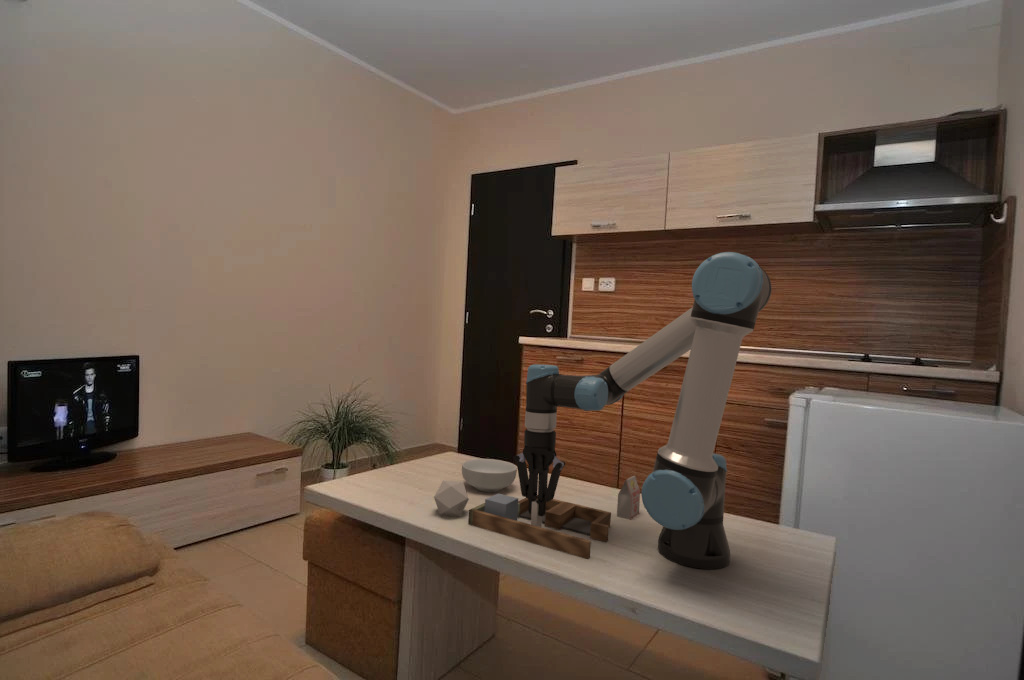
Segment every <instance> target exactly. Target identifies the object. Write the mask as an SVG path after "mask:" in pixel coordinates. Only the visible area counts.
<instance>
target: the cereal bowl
mask: <svg viewBox="0 0 1024 680" xmlns="http://www.w3.org/2000/svg"><path fill="white" fill-rule="evenodd" d="M517 473H518V469H517V464H514V463H512V462H509V461H504V460H500V459H494V458H474V459H473V458H472V459H468V460H465V461H464V462H463V463H462V464H461V474H462V478H463V480H464V481H465V482H466V484H469V486H472V487H473V488H475V489H476V490H478V491H480V492H486V493H487V492H489V493H493V492H499V491H500V490H502V489H504V488H508V487H509V486H511V485H513V483H514V481H515V480H516V477H517Z"/></svg>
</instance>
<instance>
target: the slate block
mask: <svg viewBox="0 0 1024 680" xmlns="http://www.w3.org/2000/svg"><path fill="white" fill-rule="evenodd" d="M518 501H519V497H515V496H510V495H506V494H501V493H496V494H493V495H492V496H488V497H487V498H485V500H484V503H485V512H486V513H490V514H493V515H497V516H501V517H505V518H508V519H512V520H516V521H518V518H517V516H518Z"/></svg>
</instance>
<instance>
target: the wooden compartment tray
mask: <svg viewBox="0 0 1024 680" xmlns="http://www.w3.org/2000/svg"><path fill="white" fill-rule="evenodd" d="M536 499H538V498H536ZM528 510H529V500H528V498H526V497H524V498H522V499H520V500H518V516H517V519H518V518H522V519H524V520H529V521H531V514H529V511H528ZM467 520H468V521H467V525H469V526H472V525H473V527H476V528H480V529H483V530H486V531H490V532H493V533H497V534H500V535H504V536H507V537H509V538H510V537H511V538H514V539H518V540H521V541H524V542H527V543H531V544H535V545H538V546H542V547H545V548H547V549H548V548H549V549H551V550H554V551H555V550H556V551H559V552H562V553H566V554H569V555H572V556H576V557H579V558H583V559H587V560H588V559H590V558H591V545H592V540H589V539H587V538H582V537H578V536H575V535H571V534H567V533H565V532H564V533H563V532H560V531H555V530H561V529H563V530H565V531H566V530H567V531H571V532H573V533H577V534H582V535H585V536H589V538H590V539H593V540H597V541H600V542H605V543H608V541H609V537H610V536H609V534H610V528H611V522H612V512H610V511H607V510H602V509H597V508H594V507H589V506H585V505H581V504H578V503H577V504H576V503H574V502H573V503H572V502H567V501H564V500H560V499H555V498H553V499H552V500H550V501H548V502H546V509H545V515H543V516H542V524H544V526H545V527H546V528H545V527H538V526H534V525H531V523H526V522H523V521H518V520H517V521H516V520H512V519H508V518H505V517H501V516H497V515H493V514H490V513H486V512H485V502H483V503H482V504H479V505H477V506H475V507H472V508H470V509H469V510H468V519H467ZM547 527H548V528H551V529H548V528H547ZM553 529H555V530H553Z"/></svg>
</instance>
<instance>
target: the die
mask: <svg viewBox="0 0 1024 680" xmlns="http://www.w3.org/2000/svg"><path fill="white" fill-rule="evenodd" d="M433 498H434V501H435V504H436V507H437V510H438V514H439V516H448V517H449V516H450V517H461V516H462V514H463V513H464V510H465V508H466V506H467V504H468V502H469V496H468V494H467V490H466V486H465V482H464V481H462V480H461V481H458V480H442V481H441V483H440V485H439V487H438V489H437V491H436V492H435V494H434V496H433Z"/></svg>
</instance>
